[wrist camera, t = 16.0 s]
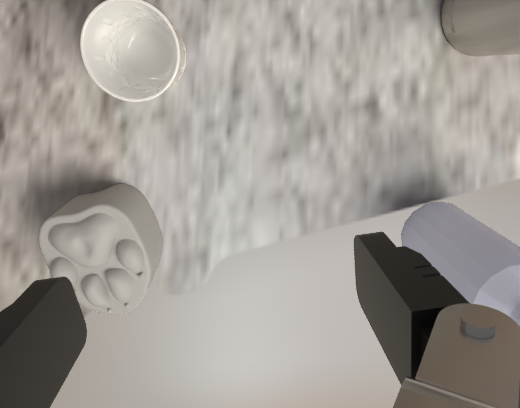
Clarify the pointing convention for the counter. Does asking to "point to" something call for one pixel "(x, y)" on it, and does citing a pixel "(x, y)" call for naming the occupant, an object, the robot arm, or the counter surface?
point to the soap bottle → (467, 255)
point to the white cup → (132, 50)
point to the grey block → (104, 247)
